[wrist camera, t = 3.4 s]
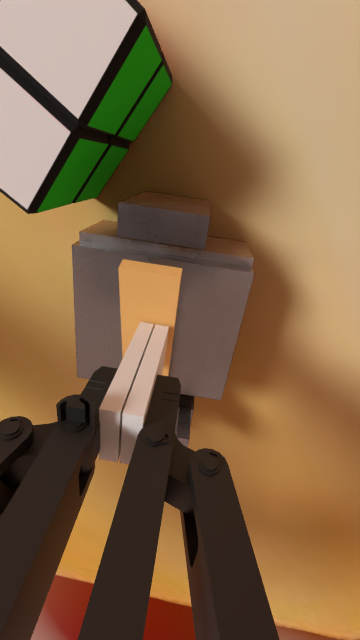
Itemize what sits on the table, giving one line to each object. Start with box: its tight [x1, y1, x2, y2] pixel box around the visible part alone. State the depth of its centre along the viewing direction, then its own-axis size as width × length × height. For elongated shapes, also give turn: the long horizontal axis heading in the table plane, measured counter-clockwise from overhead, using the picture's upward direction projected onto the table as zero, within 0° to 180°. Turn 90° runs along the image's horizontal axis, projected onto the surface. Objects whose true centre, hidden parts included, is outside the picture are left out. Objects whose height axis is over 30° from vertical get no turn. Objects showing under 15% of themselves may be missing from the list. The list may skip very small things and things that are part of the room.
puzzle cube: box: [0, 0, 172, 214], centre depth 16 cm, size 10×10×10 cm
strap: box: [118, 259, 182, 376], centre depth 20 cm, size 5×17×2 cm, turn 172°
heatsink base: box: [72, 191, 254, 447], centre depth 24 cm, size 12×19×9 cm, turn 172°
